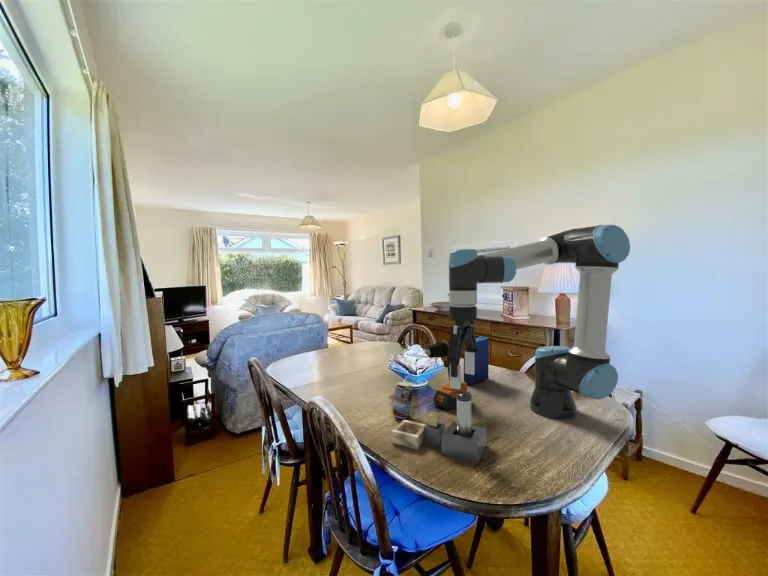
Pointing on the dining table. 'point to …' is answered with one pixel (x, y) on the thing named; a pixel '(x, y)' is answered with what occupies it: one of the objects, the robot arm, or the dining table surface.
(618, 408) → the dining table surface
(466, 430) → the capped tube
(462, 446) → the socket block
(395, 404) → the beverage can
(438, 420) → the tan wooden peg
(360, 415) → the dining table surface
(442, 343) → the power drill
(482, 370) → the book
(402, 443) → the wooden tray
